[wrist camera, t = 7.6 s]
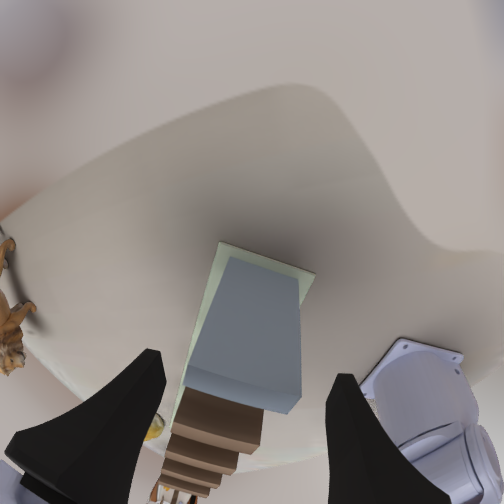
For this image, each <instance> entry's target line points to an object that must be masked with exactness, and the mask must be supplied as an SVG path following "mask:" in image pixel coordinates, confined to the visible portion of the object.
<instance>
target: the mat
mask: <svg viewBox="0 0 504 504" xmlns="http://www.w3.org/2000/svg"><path fill="white" fill-rule="evenodd" d="M230 256H231V257H234V258H237V259H240V260H243V261H245V262H248V263H251V264H254V265H257V266H260V267H263V268H266V269H269V270H272V271H275V272H278V273H281V274H284V275H286V276H289V277H292V278H295V279H298V282H299V304H300V306H301V304H302V302H303V300H304V298H305V296H306V294H307V292H308V290H309V288H310V286H311V284H312V282H313V280H314V278H315V274H314V273H311V272H308V271H305V270H302V269H300V268H297V267H294V266H291V265H288V264H285V263H282V262H279V261H276V260H273V259H270V258H267V257H265V256H262V255H259V254H256V253H253V252H250V251H247V250H244V249H241V248H238V247H235V246H232V245H230V244H227V243H224V242H221V241H220V242H219V244H218V248H217V251H216V254H215V258H214V261H213V265H212V268H211V271H210V275H209V278H208V282H207V285H206V289H205V292H204V296H203V299H202V303H201V307H200V310H199V314H198V317H197V321H196V325H195V328H194V332H193V336H192V340H191V343H190V347H189V351H188V355H187V359H186V362H185V366H184V370H183V374H182V378H181V382H180V386H179V390H178V394H177V398H176V402H175V406H174V411H173V415H172V419H171V423H170V427H169V428H172V424H173V420H174V418H175V415H176V412H177V409H178V406H179V403H180V400H181V398H182V395H183V392H184V389H185V386H184V385H182V384H183V380H184V377H185V373H186V369H187V365H188V363H189V360H190V357H191V355H192V352H193V349H194V347H195V344H196V342H197V339H198V336H199V334H200V331H201V329H202V326H203V323H204V321H205V318H206V316H207V313H208V311H209V308H210V305H211V303H212V300H213V298H214V295H215V293H216V290H217V288H218V285H219V283H220V280H221V278H222V275H223V273H224V270H225V268H226V265H227V263H228V260H229V258H230Z"/></svg>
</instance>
